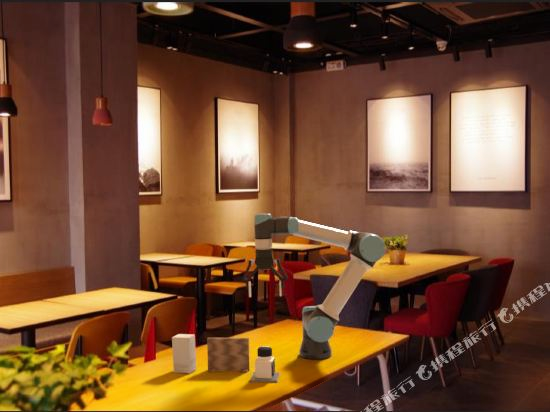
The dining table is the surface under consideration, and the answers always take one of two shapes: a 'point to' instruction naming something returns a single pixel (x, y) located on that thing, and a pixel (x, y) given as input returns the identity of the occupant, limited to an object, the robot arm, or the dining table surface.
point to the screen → (228, 354)
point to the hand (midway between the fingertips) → (265, 296)
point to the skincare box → (184, 353)
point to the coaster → (274, 379)
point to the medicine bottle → (265, 363)
